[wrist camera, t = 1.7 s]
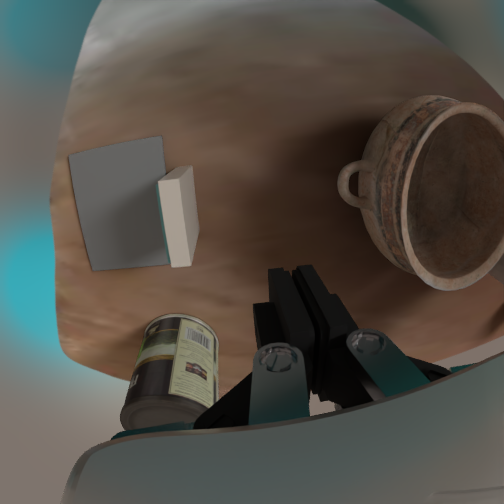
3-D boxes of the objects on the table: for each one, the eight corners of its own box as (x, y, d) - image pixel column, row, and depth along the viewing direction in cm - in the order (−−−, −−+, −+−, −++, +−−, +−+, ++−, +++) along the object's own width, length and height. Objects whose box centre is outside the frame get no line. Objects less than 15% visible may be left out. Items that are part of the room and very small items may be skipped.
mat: (161, 135, 27) (161, 135, 27) (179, 261, 33) (178, 263, 32) (70, 154, 27) (68, 155, 26) (94, 269, 32) (92, 271, 32)
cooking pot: (476, 121, 28) (542, 131, 17) (459, 247, 36) (514, 285, 25) (311, 81, 26) (362, 56, 15) (304, 250, 34) (340, 310, 22)
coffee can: (143, 363, 38) (124, 443, 25) (145, 306, 35) (114, 390, 22) (213, 375, 40) (213, 457, 27) (225, 320, 36) (229, 409, 23)
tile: (192, 165, 29) (178, 178, 21) (199, 229, 32) (191, 265, 23) (173, 167, 29) (154, 181, 20) (182, 231, 32) (168, 267, 23)
